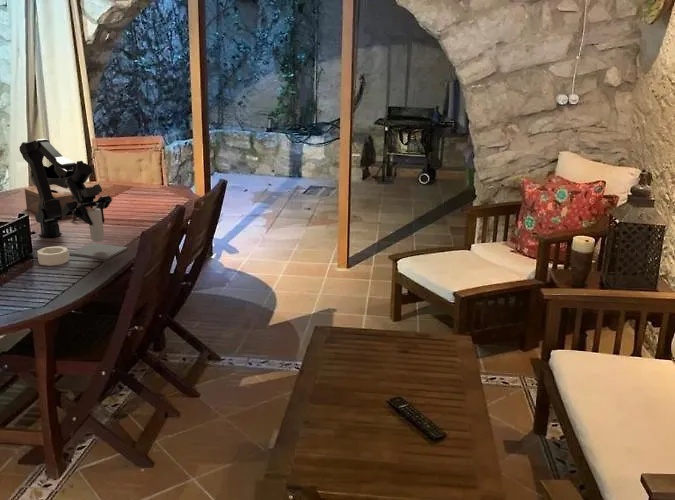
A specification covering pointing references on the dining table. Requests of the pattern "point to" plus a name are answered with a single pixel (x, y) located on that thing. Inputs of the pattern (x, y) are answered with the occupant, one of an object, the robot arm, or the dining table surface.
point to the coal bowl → (52, 177)
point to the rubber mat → (98, 251)
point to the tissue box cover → (57, 192)
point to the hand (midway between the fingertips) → (97, 223)
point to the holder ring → (53, 255)
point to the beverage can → (96, 224)
